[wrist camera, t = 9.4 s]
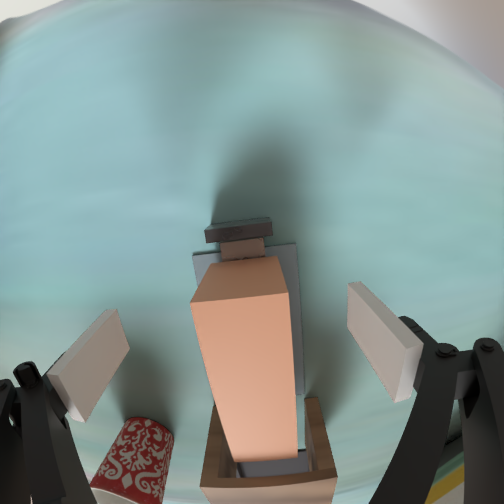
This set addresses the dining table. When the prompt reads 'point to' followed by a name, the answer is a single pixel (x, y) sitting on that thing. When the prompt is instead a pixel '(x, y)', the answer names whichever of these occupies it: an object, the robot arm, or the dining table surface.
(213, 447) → the open box
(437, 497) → the planter
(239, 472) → the dark grey tray
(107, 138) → the dining table surface
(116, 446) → the mug
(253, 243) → the track
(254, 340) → the block
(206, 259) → the pad
